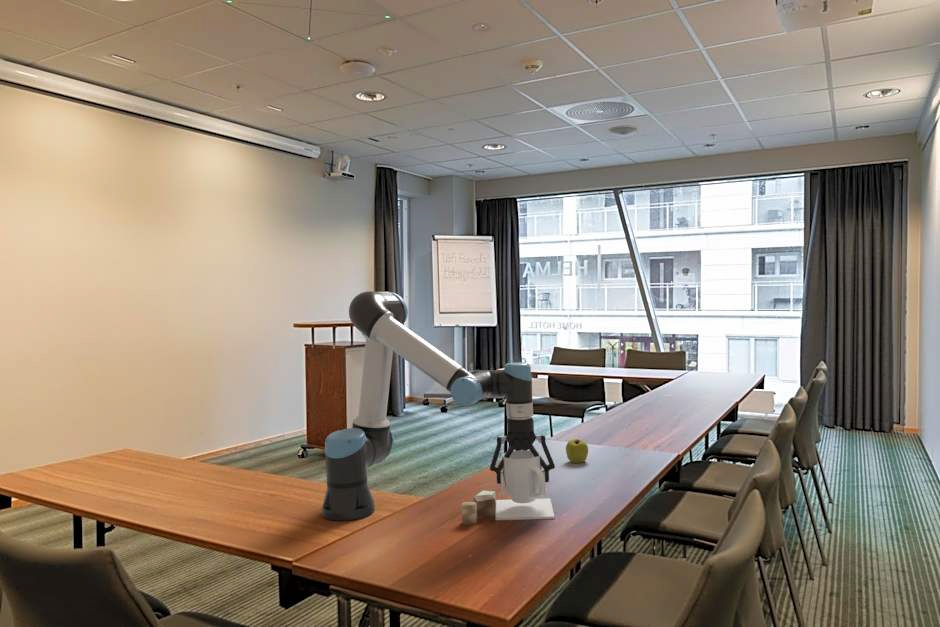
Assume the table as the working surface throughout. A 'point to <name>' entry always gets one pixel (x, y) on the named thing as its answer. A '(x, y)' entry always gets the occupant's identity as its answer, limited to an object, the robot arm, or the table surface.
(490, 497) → the walnut block
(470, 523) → the beech cylinder
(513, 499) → the mug
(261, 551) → the table surface
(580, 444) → the apple
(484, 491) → the sage block
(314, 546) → the table surface
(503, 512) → the pad
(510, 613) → the table surface
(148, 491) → the table surface
